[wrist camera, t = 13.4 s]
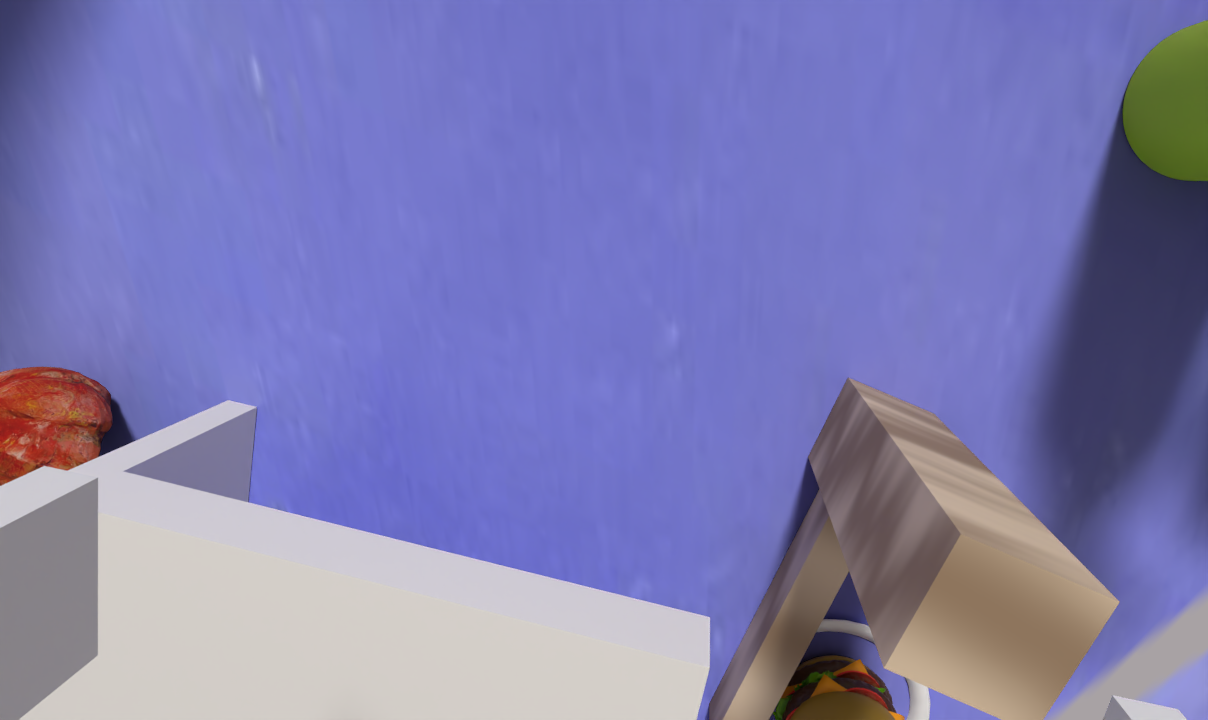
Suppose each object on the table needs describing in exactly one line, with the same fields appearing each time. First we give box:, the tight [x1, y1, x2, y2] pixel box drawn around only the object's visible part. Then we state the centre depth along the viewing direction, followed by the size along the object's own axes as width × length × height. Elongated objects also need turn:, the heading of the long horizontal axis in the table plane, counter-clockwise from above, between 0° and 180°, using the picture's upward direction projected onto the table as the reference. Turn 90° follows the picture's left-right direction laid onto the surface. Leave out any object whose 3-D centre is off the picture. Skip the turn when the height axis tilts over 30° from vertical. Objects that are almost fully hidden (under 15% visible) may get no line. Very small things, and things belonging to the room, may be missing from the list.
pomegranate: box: [0, 367, 112, 486], centre depth 37 cm, size 7×7×10 cm
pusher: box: [709, 378, 1119, 720], centre depth 28 cm, size 18×4×16 cm, turn 158°
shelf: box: [19, 400, 710, 720], centre depth 33 cm, size 16×24×12 cm, turn 79°
